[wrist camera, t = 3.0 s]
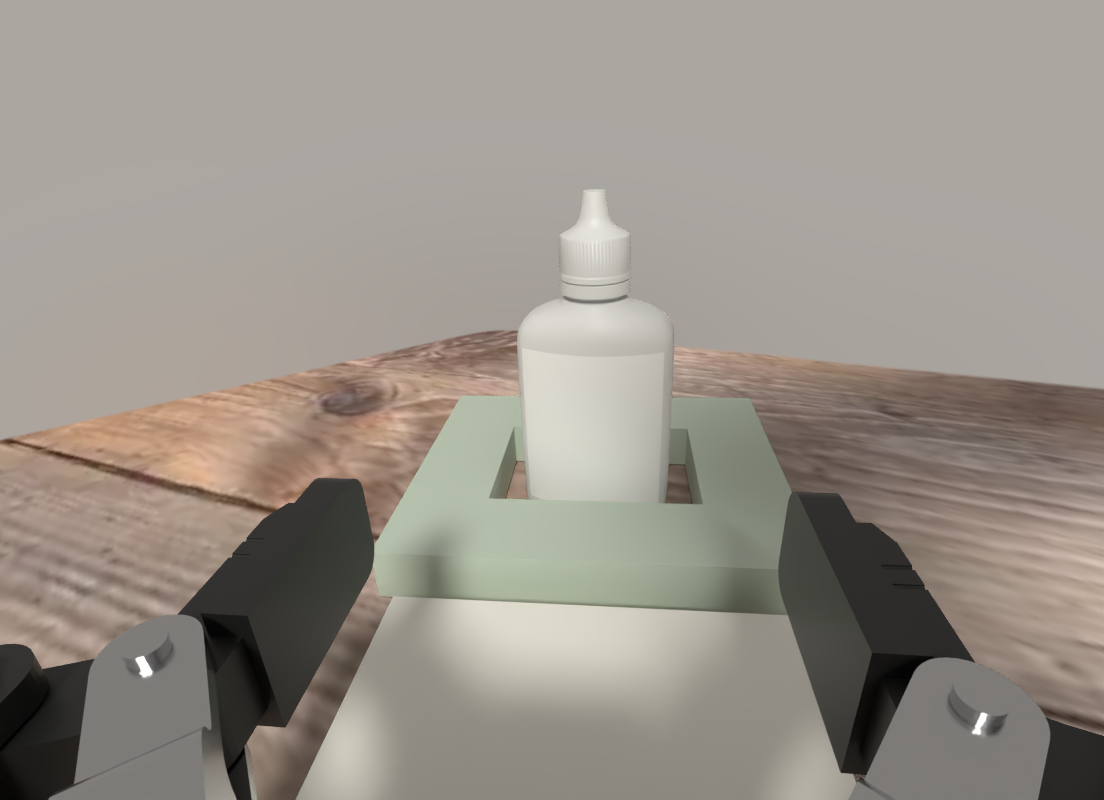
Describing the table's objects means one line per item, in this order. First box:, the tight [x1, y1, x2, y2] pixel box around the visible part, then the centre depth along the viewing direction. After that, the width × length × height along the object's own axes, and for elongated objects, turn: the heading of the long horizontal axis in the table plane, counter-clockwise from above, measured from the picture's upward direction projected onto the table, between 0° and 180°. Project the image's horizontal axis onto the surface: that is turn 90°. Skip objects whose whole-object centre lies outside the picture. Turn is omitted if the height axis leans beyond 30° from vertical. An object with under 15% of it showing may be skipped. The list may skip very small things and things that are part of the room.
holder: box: [373, 396, 792, 615], centre depth 24 cm, size 14×12×2 cm
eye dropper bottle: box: [517, 189, 674, 503], centre depth 22 cm, size 4×6×12 cm
